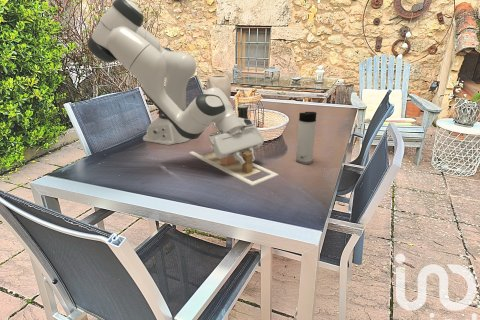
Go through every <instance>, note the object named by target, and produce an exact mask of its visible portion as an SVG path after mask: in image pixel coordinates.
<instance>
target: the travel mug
mask: <svg viewBox="0 0 480 320" xmlns="http://www.w3.org/2000/svg"><path fill="white" fill-rule="evenodd" d="M317 114H318V113H317V112H316V111H304V112H299V116H298V117H299V118H298V126H297V127H298V128H297V140H296V141H297V143H296V155H295V161H296V163H298V164H301V165H310V164H312V163H313V157H314V147H315V145H314V144H315V134H316V126H317V125H316V123H317Z"/></svg>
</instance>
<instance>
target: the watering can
mask: <svg viewBox="0 0 480 320" xmlns="http://www.w3.org/2000/svg"><path fill="white" fill-rule="evenodd" d="M206 80H207V81H206V90H207V89H209V88H214V87H216V88H219V89H221V90H222V91H223V92H224V94H225V95H226V96H227V98H228V99H229V101H230V102H231V95H232V82H231V79H230V77H229V75H227V74H214V75H213V74H211V75H210V76H208V78H207V79H206Z"/></svg>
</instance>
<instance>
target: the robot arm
mask: <svg viewBox="0 0 480 320" xmlns="http://www.w3.org/2000/svg"><path fill="white" fill-rule="evenodd" d="M143 22H144V14H143V13H142V11H141V9H140V7H139V6H138V5H137V4H136V3H135V2H133V1H132V0H115V1H114V2H112V5H111V6H110V7H109V8H108V10H106V11H105V13H104V14H103V15H102V16H101V18H100V20H99V21H98V23H97V25H96V26H95V28H94V30H93V32H92V34H91V35H90V36H89V37H88V40H87V47H88V51H90V53H91V54H92V55H93V56H94V57H95V58H97V59H98V60H100V61H102V62H104V63H114V62H117V61H118V62H119V63H120V64H121V65H122V66H123V67H124V68H125V69H127V70H128V71H129V72H130V73H131V74H132V75H133V76H134V77H135V78H136V79H137V81H138V82H139V84H140V86H141V89H142V92H143V94H144V95H145V96H146V98H147V99H148V100H149V101H150V102H151V103H152V104H153V106H154V107H155V108H156V109H157V110H158V111H157V112H156V115H158V117H157V118H156V119H154V120H153V121H152V122H151V123H149V125H148V127H147V132H146V134H145V135H143V136H142V141H144V142H150V143H154V144H155V143H156V144H160V145H166V146H170V145H174V144H180V143H187V142H188V141H190V140H196V139H199V137H200V136H201V135H202V133H203V132H205V129H207V128H208V126H210V125H211V124H212V123H213V124H214V126H215V129H216V130H217V131H216V132H211V133H210V134H209V136H208V140H209V143H210V144H211V146H212V147H213V148H212V150H213V152H214V153H215V155H216V157H217V158H219V159H221V158H225V157H228V156H231V155H233V156H234V158H235V159H236V160H238V161H239V162H240V163H241V165H243V164H245V163H246V162H247V161H246V160H245V158H242V155H240V154H242V152H244V151H248V152H250V153H252V162H255V160H256V158H255V155H254V154H255V153H254V149H256V148H260V147H261V146H262V145H263V144H264V142H265V139H264V136H263V135H262V133H261V132H260V130H259V129H258V127H257V126H255V122H254V120H253V119H250V118H248V119H243V118H239V117H238V113H236V112H235V111H234V107H233V105H232V103H231V100H230V101H229V99H228V98H227V96H226V95H225V94H224V92H223V91H222V90H221V89H219V88H216V87H214V88H209V89H207V88H206V90H205V91H204V92H203V93H200V94H198V95H196V96H195V97H194V98H193V99H192V101H191V102H190V103H189V104H188V106H187V87H188V84H189V81H190V80H191V78H192V77H193V76H194V75H195V73H196V70H197V62H196V60H195V58H194V56H192V55H191V54H189V53H187V52H183V51H175V50H174V51H173V50H172V51H171V50H168V49H165V48H163V46H161V42H160V40H159V38H157V37H156V36H155V35H153V34H152V33H150V31H148V29H147V30H146V28H144V27H143V26H142V25H143ZM165 79H166V81H165Z"/></svg>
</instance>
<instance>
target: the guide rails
mask: <svg viewBox="0 0 480 320" xmlns="http://www.w3.org/2000/svg"><path fill="white" fill-rule="evenodd" d="M210 149H213V147H212V145H211V146H210ZM188 153H189V155H192V156H193V157H195V158H197V159H199V160H201V161H203V162H205V163H207V164H209V165H211V166H212V167H215V168H217V169H218V170H220V171H222V172H224V173H226V174H227V175H230V176H232V177H234V178H236V179H238V180H240V181H242V182H244V183H245V184H247V185H249V186H251V187H254V186H256V185H259V184H262V183H263V182H266V181H269V180H271V179H274V178H276V177H277V178H278V177H279V175H280V174H279V173H276V172H274V171H273V170H270V169H268V168H266V167H263V166H261V165H258V164H256V163H254V162H252V167H253V168H255V169H257V170H259V171H261V172H264V173H266V174H268V175H266V176H263V177H261V178H258V179H256V180H250V179H249V178H247V177H245V178H244V177H243V176H241V175H239V174H237V173H235V172H233V171H231V170H229V169H227V168H225V167H223V166H221V165H219V164H217V163H215V162H213V161H211V160H209V159H207V158H205V157H203V156H202V155H201V154H199V153H197V152H195V151H189V152H188Z"/></svg>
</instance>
